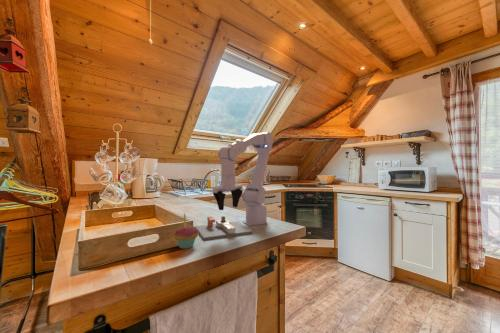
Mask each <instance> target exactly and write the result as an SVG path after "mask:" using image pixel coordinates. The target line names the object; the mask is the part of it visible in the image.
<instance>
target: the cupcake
mask: <svg viewBox="0 0 500 333" xmlns="http://www.w3.org/2000/svg"><path fill="white" fill-rule="evenodd" d="M183 225H184V227H182V228H180V229H178V230H177V231H176V233H175V234H174V235H175V238H174V239H177V240H178V242H177V244H178V243H179V245H178V247H179V248H180V249H189V248H192V247H193V246H194V244H195V241H196V238H198V236H199V233H198V229H197V228H196V227H195V226H193V225H190V226H186V225H187V217H186V213H185V212H184V213H183ZM177 240H176V241H177Z"/></svg>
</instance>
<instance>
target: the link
mask: <svg viewBox="0 0 500 333" xmlns="http://www.w3.org/2000/svg"><path fill="white" fill-rule="evenodd" d="M231 222H232V221H230V220H228V219H226V218H225V222H221V219H216V220H215V224H216V226H218V227H219V228H222V229H223V230H224V231H226V232H227V233H228V234H231V233H235V227H234V226H232V225H231Z"/></svg>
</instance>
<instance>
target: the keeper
mask: <svg viewBox="0 0 500 333" xmlns="http://www.w3.org/2000/svg"><path fill="white" fill-rule="evenodd" d="M206 219H207V225H208V227H210V226H213V224H214V223H216V219H215V218H214V217H213V216H212V215H210V216H207V218H206Z"/></svg>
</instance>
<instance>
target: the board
mask: <svg viewBox="0 0 500 333" xmlns="http://www.w3.org/2000/svg"><path fill="white" fill-rule="evenodd" d="M230 222H231V225H232V226H234V227H235V233H231V234H228V233H227V232H226V231H224V230H223V229H222V228H219V227H218V226H216V223H213V226H210V227H208V224H204V225H203V224H202V225H195V226H194V227H196V228H197V229H198V235H199V236H200V237H201V239H203V241H209V240H216V239H222V238H229V237H230V238H231V237H237V236H243V235H252V234H253V232H254V231H253V230H252V229H251V228H249V227H247V226H245V225H244V224H243V223H242V222H239V221H238V220H237V221H230Z"/></svg>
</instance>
